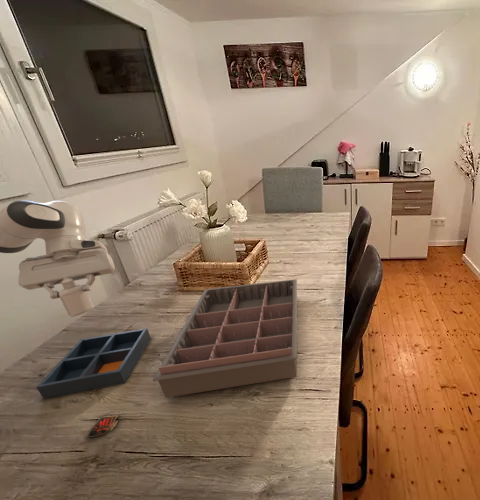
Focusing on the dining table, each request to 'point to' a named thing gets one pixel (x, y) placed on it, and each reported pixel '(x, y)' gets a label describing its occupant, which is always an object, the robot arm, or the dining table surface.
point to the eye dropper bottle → (74, 298)
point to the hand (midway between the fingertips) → (71, 294)
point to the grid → (96, 363)
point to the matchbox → (103, 425)
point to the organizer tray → (234, 339)
